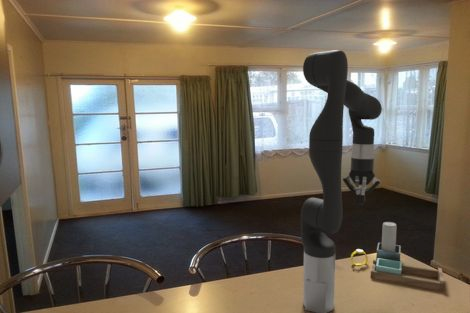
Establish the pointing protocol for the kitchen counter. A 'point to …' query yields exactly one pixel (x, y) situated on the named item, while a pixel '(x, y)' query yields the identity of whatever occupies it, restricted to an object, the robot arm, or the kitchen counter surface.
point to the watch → (360, 253)
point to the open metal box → (388, 253)
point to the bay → (412, 280)
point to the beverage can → (389, 236)
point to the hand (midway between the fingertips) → (360, 204)
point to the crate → (388, 266)
